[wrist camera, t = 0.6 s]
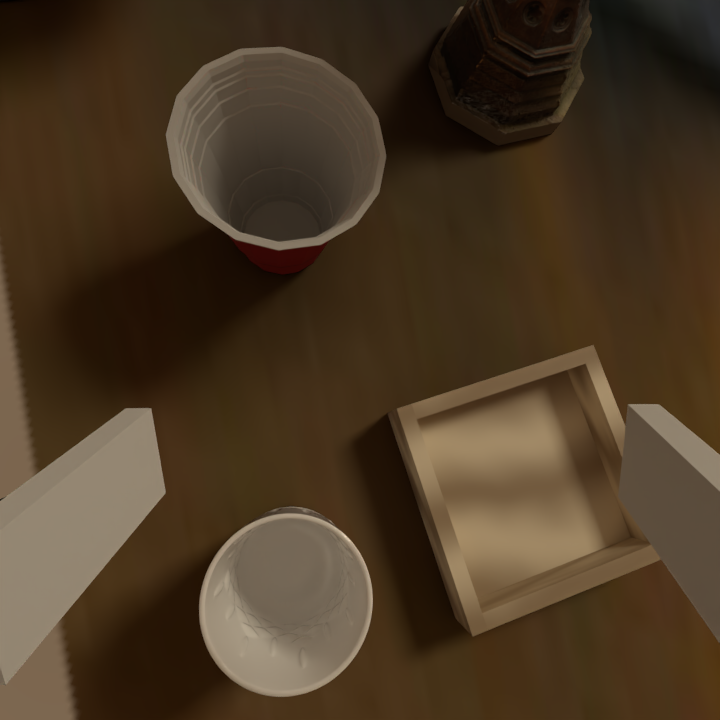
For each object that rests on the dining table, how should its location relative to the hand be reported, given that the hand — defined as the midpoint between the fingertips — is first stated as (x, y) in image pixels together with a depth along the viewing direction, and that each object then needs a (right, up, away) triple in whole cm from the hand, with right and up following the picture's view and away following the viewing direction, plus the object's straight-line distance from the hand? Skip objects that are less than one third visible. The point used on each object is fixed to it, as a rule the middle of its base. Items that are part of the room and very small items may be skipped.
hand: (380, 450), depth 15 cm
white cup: (-5, -10, +19) cm, 23 cm away
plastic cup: (-6, +11, +23) cm, 26 cm away
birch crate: (+10, -6, +22) cm, 25 cm away
